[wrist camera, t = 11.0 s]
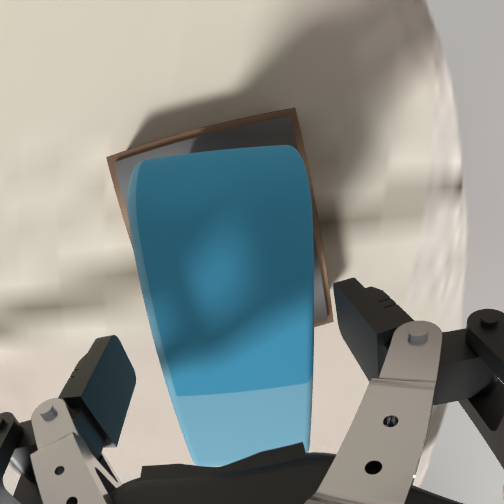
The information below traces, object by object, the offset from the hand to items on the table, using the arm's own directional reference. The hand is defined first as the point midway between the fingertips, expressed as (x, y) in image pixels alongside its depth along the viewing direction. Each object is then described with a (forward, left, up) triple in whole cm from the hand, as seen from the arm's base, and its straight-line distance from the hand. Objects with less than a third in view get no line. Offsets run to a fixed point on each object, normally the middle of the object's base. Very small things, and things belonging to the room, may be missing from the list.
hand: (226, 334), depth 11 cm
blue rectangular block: (0, 0, -10) cm, 10 cm away
